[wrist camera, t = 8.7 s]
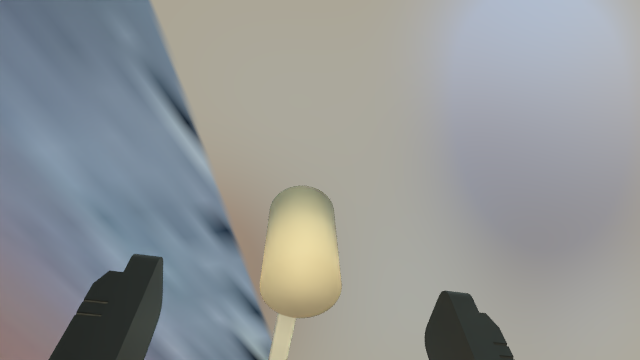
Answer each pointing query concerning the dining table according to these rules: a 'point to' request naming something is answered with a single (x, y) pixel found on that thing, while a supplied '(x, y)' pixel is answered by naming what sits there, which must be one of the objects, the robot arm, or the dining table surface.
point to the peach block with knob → (299, 261)
